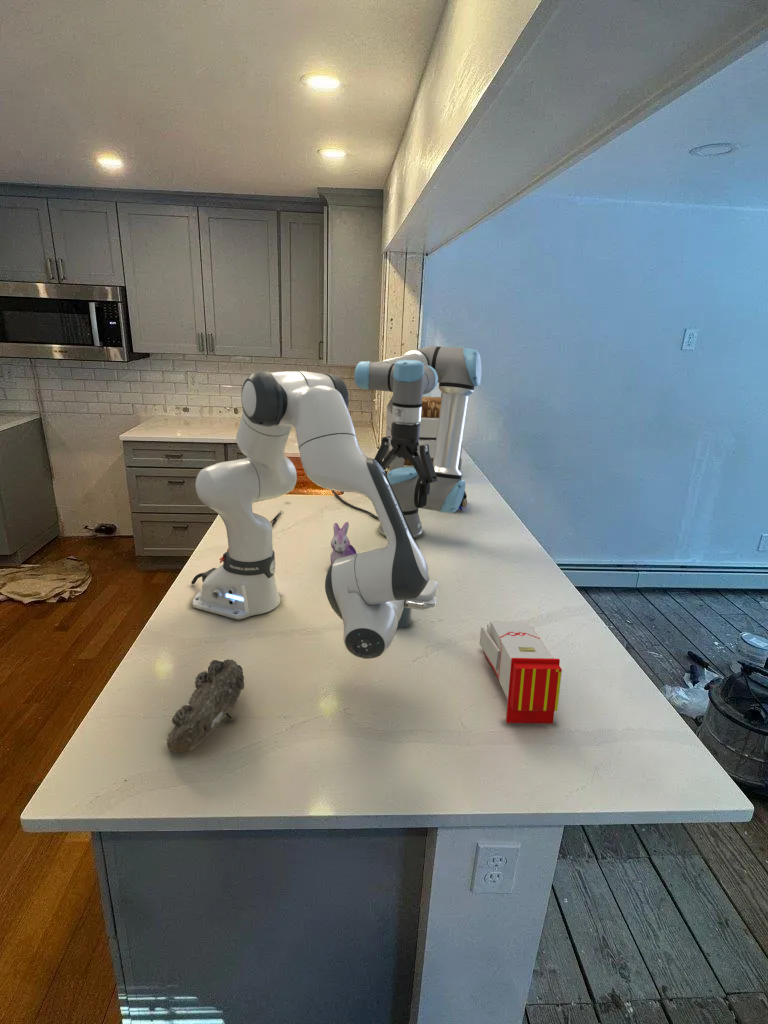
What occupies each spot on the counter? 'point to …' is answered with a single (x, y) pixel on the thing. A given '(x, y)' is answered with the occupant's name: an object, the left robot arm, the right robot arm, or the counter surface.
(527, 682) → the toy
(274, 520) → the feather
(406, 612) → the grey tall cylinder
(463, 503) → the figurine character
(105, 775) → the counter surface
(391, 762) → the counter surface
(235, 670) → the fossil
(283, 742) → the counter surface
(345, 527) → the figurine
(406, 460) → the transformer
